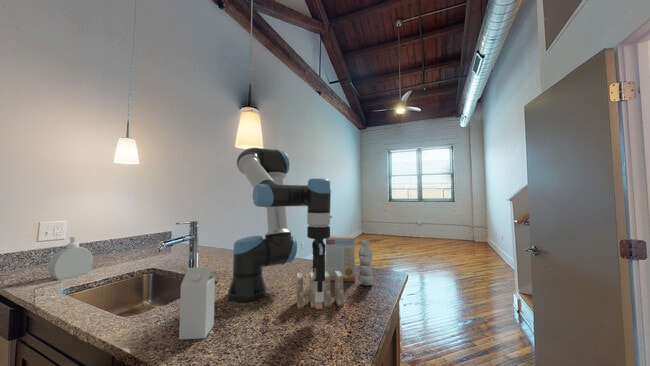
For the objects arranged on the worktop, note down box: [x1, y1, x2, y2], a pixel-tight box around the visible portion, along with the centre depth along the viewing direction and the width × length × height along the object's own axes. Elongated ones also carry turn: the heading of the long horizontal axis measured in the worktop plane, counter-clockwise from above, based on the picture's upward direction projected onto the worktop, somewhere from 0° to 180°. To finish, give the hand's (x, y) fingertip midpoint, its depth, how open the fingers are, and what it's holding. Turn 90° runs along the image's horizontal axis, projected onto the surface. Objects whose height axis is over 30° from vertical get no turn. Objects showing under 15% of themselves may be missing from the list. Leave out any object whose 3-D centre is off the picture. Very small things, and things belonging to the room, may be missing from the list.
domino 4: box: [334, 271, 344, 307], centre depth 96 cm, size 2×6×11 cm, turn 8°
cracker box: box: [325, 235, 356, 283], centre depth 123 cm, size 14×6×21 cm, turn 84°
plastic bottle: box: [358, 239, 374, 287], centre depth 115 cm, size 6×7×20 cm
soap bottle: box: [47, 236, 94, 281], centre depth 129 cm, size 16×5×20 cm, turn 161°
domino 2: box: [309, 271, 316, 309], centre depth 95 cm, size 2×6×11 cm, turn 8°
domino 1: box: [296, 272, 304, 310], centre depth 94 cm, size 2×6×11 cm, turn 8°
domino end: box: [314, 268, 323, 310], centre depth 81 cm, size 2×6×11 cm, turn 8°
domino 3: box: [322, 271, 331, 308], centre depth 95 cm, size 2×6×11 cm, turn 8°
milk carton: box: [178, 267, 216, 340], centre depth 75 cm, size 7×7×19 cm
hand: (318, 296), depth 81 cm, fingers closed on domino end, 6 cm apart
